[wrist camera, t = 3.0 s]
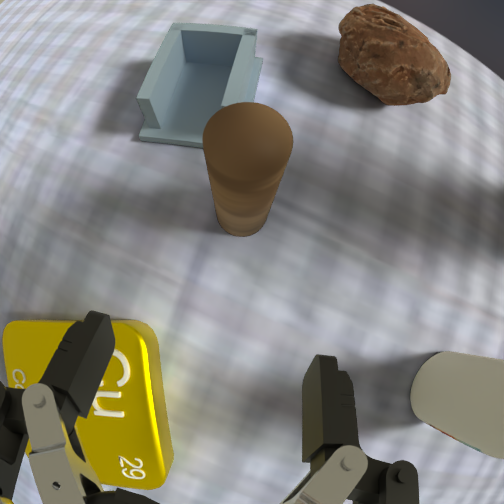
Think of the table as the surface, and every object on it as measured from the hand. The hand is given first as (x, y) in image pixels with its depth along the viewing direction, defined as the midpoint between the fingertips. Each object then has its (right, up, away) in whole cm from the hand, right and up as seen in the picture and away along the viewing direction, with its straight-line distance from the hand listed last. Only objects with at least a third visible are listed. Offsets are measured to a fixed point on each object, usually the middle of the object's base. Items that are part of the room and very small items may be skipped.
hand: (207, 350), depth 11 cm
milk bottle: (+21, -10, +14) cm, 27 cm away
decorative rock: (+16, +24, +20) cm, 35 cm away
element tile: (-13, -10, +13) cm, 21 cm away
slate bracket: (-3, +19, +18) cm, 26 cm away
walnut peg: (+1, +7, +16) cm, 17 cm away
